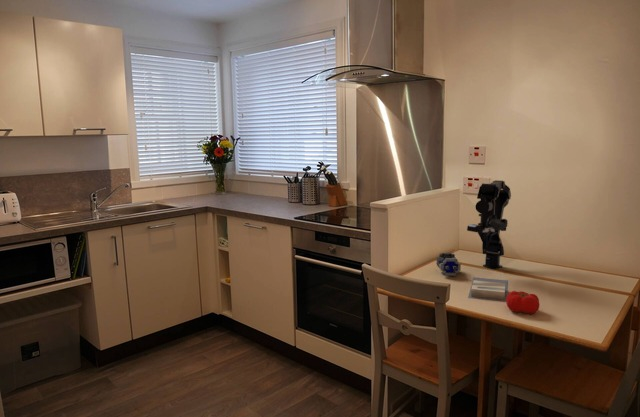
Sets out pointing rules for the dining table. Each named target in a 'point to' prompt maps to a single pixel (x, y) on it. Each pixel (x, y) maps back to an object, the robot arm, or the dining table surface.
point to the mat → (491, 281)
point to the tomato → (522, 302)
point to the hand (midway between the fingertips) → (485, 247)
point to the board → (488, 289)
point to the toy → (448, 264)
